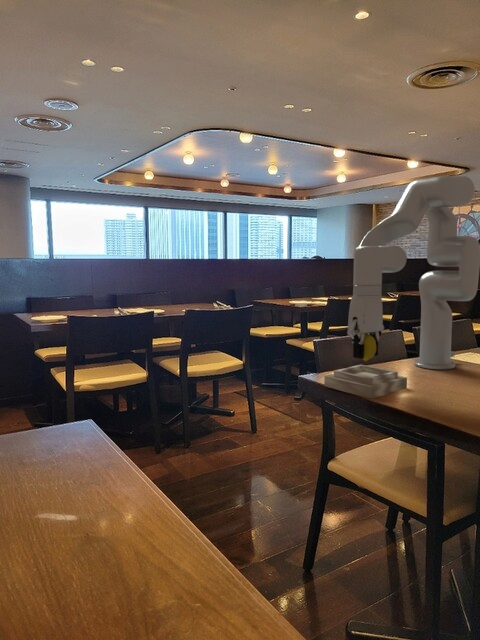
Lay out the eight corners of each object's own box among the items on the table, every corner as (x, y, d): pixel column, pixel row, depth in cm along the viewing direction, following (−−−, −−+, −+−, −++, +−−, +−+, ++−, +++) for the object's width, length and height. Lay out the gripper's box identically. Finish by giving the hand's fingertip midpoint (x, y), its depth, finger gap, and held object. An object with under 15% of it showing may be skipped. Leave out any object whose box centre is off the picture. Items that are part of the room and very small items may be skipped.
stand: (359, 377, 140) (359, 362, 140) (406, 387, 128) (407, 371, 127) (324, 386, 130) (324, 370, 130) (371, 398, 118) (372, 381, 117)
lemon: (373, 359, 130) (374, 331, 129) (377, 363, 125) (378, 334, 124) (354, 359, 131) (354, 331, 130) (357, 363, 125) (357, 334, 124)
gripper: (374, 289, 134) (372, 350, 136) (335, 292, 123) (334, 358, 125) (397, 290, 128) (395, 354, 130) (358, 293, 117) (357, 363, 120)
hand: (365, 355), depth 128 cm, fingers closed on lemon, 5 cm apart
